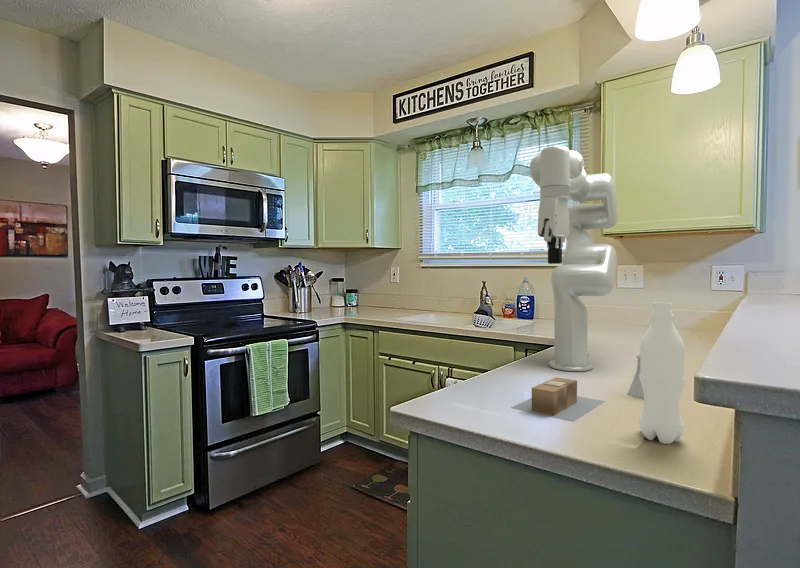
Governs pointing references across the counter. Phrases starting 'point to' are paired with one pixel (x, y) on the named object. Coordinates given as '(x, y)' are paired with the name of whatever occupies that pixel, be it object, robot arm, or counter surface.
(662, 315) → the water bottle
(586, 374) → the counter surface
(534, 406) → the cardboard box
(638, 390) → the flask
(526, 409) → the mat
